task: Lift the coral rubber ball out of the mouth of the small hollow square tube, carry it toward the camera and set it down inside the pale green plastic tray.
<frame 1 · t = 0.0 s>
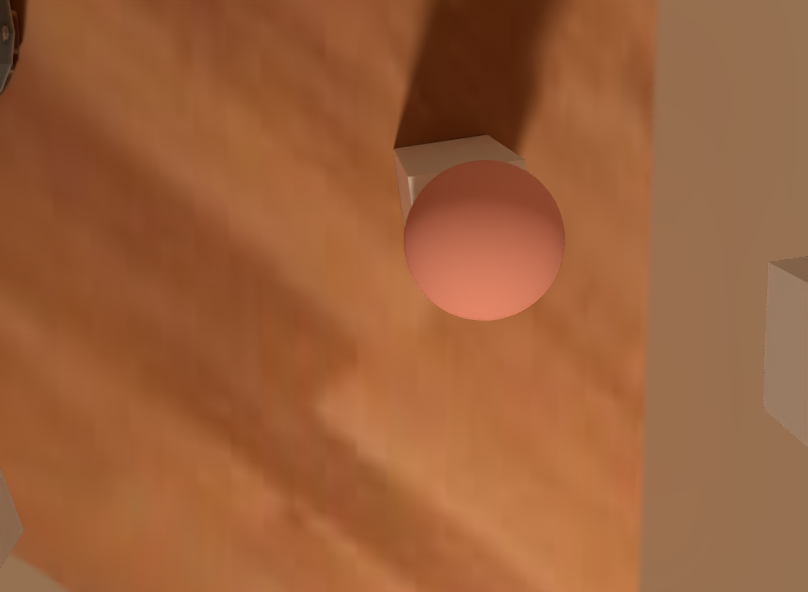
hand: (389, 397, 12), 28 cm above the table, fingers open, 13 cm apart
ball: (483, 240, 30), point 11 cm above the table, touching hollow square tube
hollow square tube: (446, 188, 40), on the table
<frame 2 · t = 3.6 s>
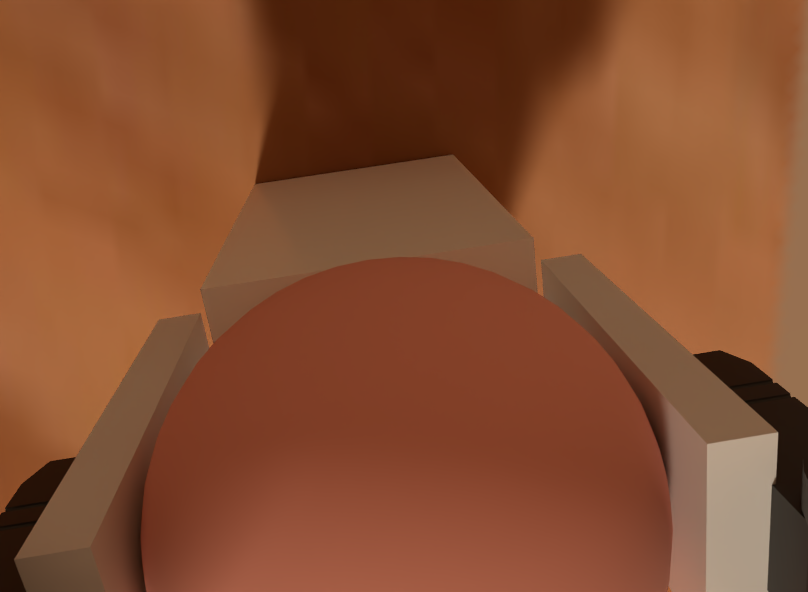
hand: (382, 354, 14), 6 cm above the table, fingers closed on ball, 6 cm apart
ball: (406, 507, 9), point 11 cm above the table, touching hollow square tube, gripper
hollow square tube: (369, 263, 19), on the table
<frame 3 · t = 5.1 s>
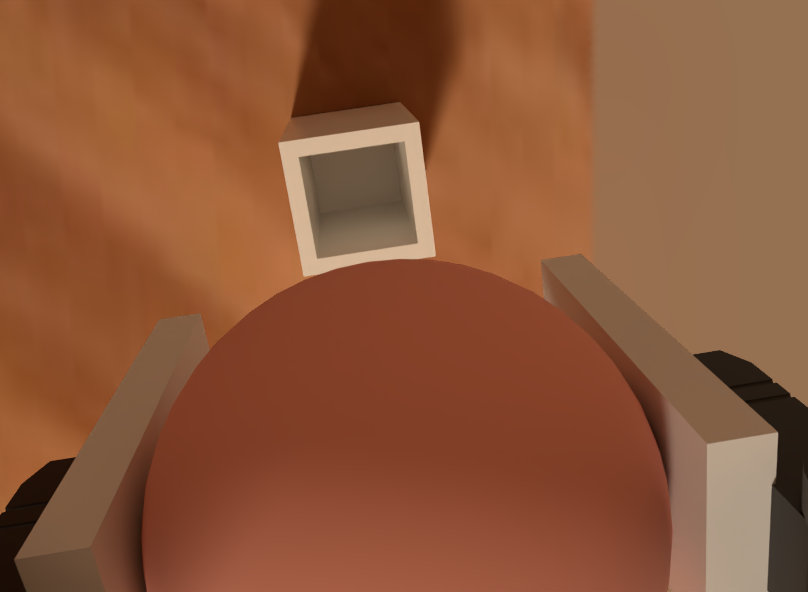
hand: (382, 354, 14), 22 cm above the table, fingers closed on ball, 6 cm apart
ball: (406, 509, 10), point 27 cm above the table, touching gripper
hollow square tube: (354, 164, 35), on the table
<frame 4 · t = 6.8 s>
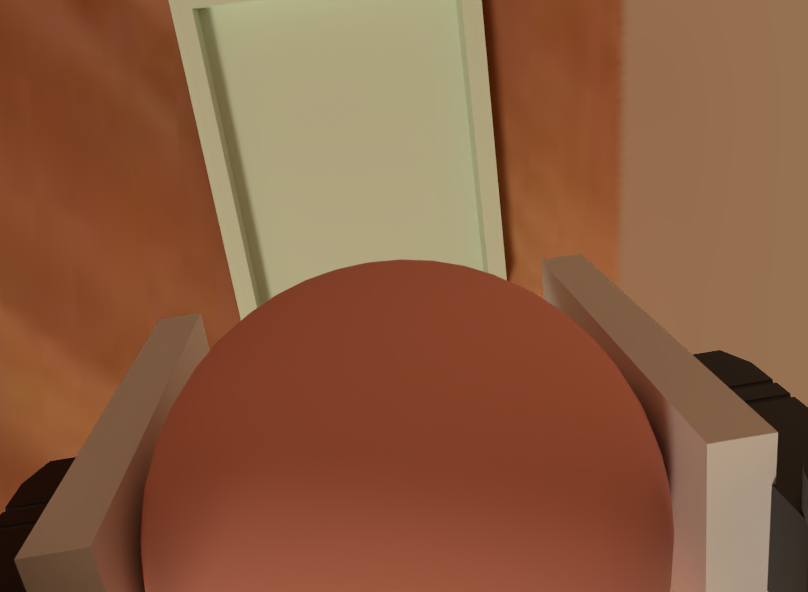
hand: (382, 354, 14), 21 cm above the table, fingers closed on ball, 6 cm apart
ball: (406, 511, 9), point 25 cm above the table, touching gripper
tray: (353, 164, 33), on the table
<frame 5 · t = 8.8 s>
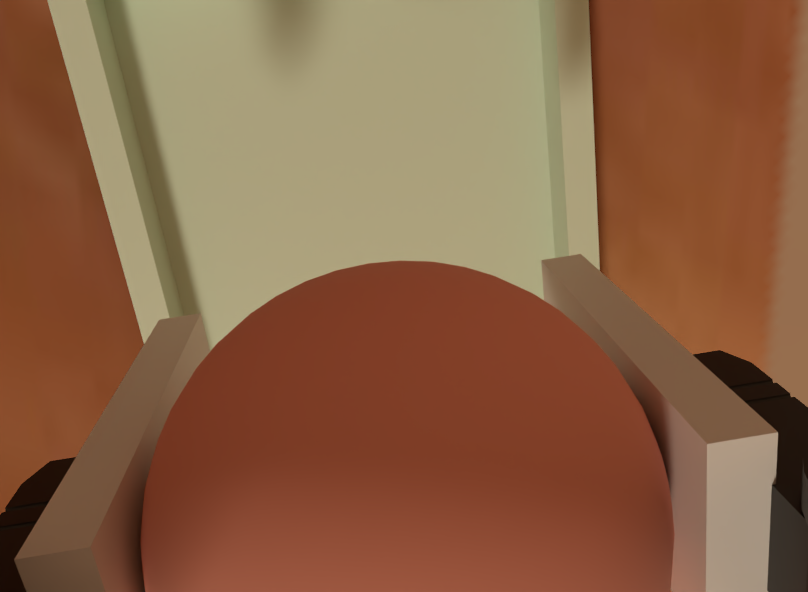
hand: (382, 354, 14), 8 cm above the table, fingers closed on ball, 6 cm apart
ball: (407, 512, 9), point 12 cm above the table, touching gripper
tray: (363, 237, 21), on the table
when the fingers open (2 cm above the table, at t = 10.4 s): ball drops 3 cm, resting on tray.
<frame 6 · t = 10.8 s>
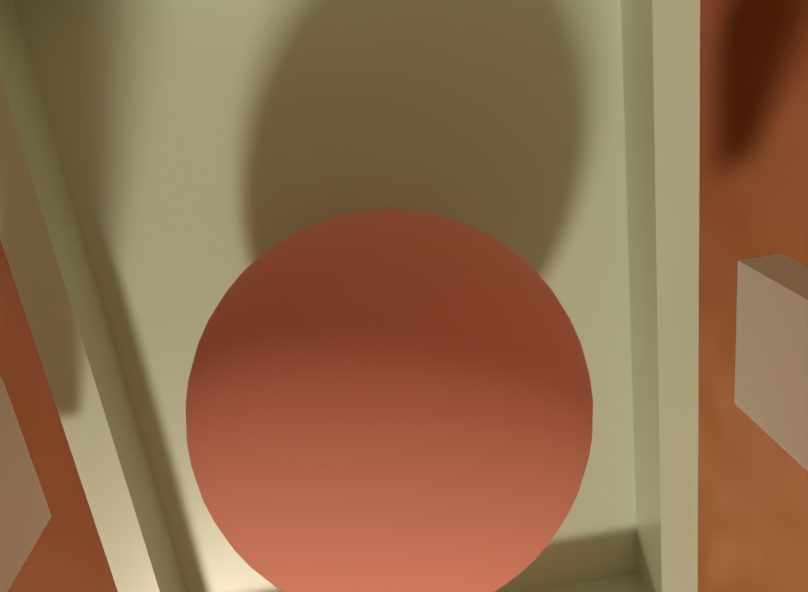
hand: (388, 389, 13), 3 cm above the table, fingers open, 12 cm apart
ball: (390, 406, 12), point 4 cm above the table, touching tray
tray: (377, 316, 16), on the table
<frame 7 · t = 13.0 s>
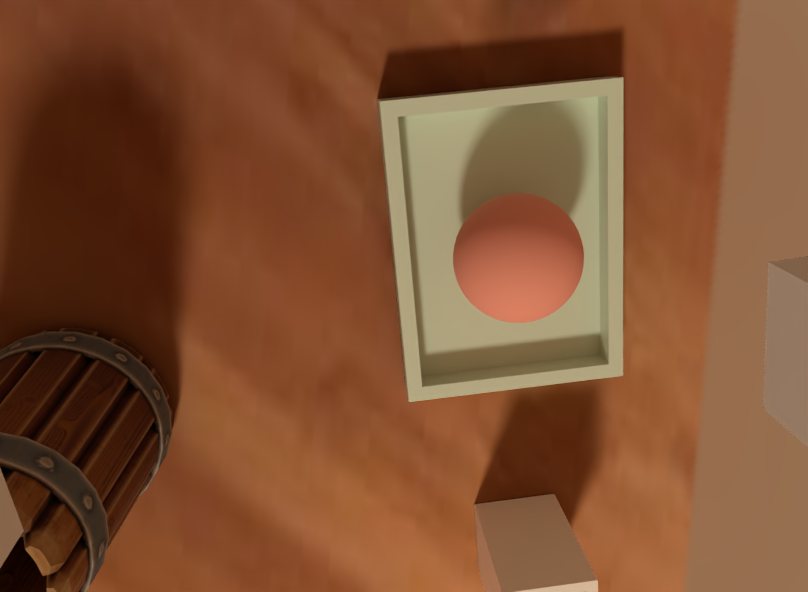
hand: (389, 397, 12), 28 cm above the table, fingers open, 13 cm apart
ball: (517, 258, 37), point 4 cm above the table, touching tray
mug: (56, 441, 42), on the table
tray: (501, 238, 41), on the table
hollow square tube: (516, 533, 47), on the table
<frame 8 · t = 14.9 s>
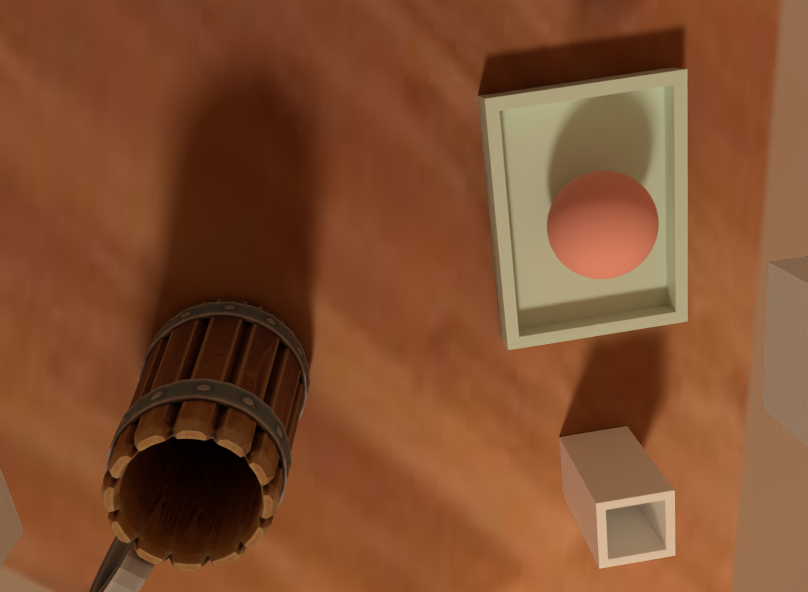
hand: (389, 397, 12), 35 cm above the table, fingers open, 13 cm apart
ball: (601, 225, 44), point 4 cm above the table, touching tray
mug: (210, 395, 50), on the table
tray: (581, 209, 48), on the table
hollow square tube: (594, 461, 54), on the table
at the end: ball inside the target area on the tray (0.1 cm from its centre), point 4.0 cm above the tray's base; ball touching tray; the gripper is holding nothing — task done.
